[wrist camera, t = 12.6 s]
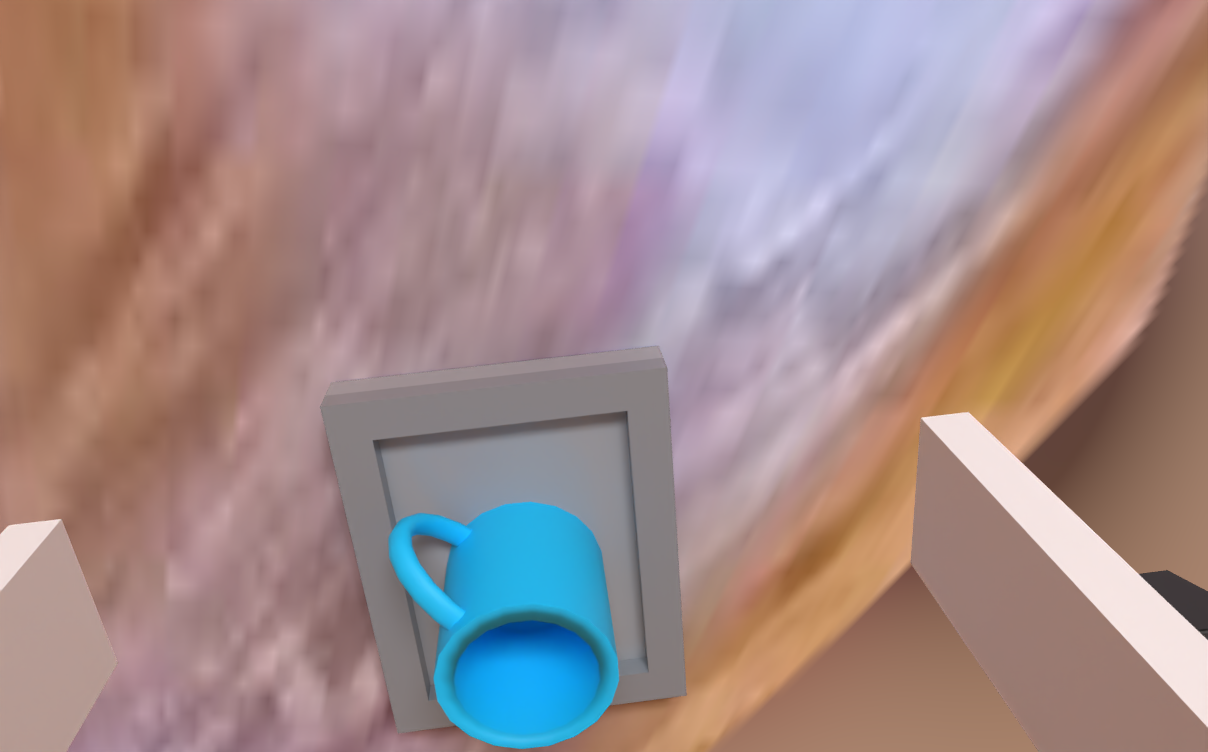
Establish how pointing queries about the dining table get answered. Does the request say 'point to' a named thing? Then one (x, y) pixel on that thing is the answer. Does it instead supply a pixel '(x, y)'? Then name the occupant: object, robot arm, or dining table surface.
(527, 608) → the mug
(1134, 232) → the dining table surface
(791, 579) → the dining table surface
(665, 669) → the tray
